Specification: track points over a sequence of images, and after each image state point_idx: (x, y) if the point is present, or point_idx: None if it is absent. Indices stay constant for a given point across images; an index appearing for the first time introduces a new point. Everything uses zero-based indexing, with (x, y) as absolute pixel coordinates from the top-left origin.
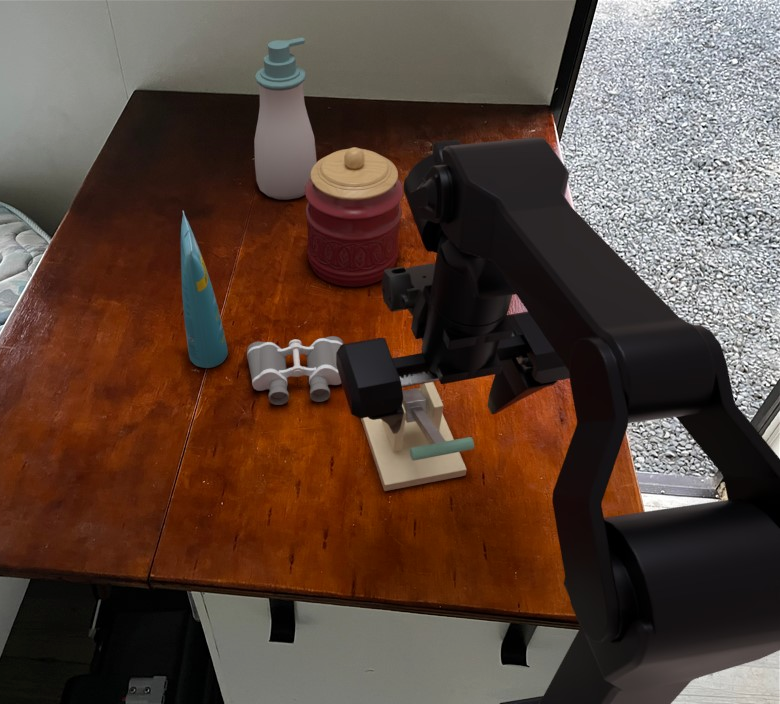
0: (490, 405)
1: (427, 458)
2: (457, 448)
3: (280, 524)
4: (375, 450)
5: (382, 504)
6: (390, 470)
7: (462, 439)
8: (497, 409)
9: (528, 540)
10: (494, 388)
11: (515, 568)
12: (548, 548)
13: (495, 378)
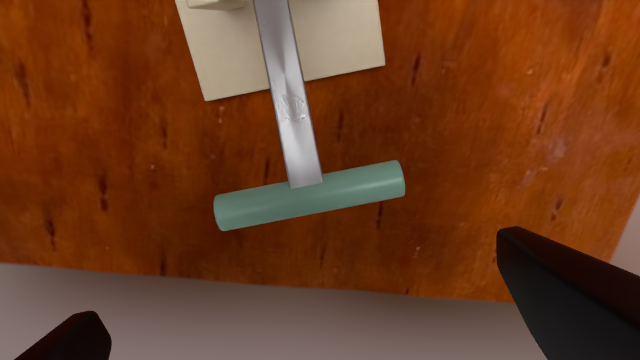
0: (511, 263)
1: (303, 32)
2: (353, 205)
3: (10, 165)
4: (179, 2)
5: (206, 126)
6: (216, 63)
7: (374, 183)
8: (535, 338)
9: (456, 198)
10: (584, 325)
11: (419, 242)
12: (483, 211)
13: (637, 344)
